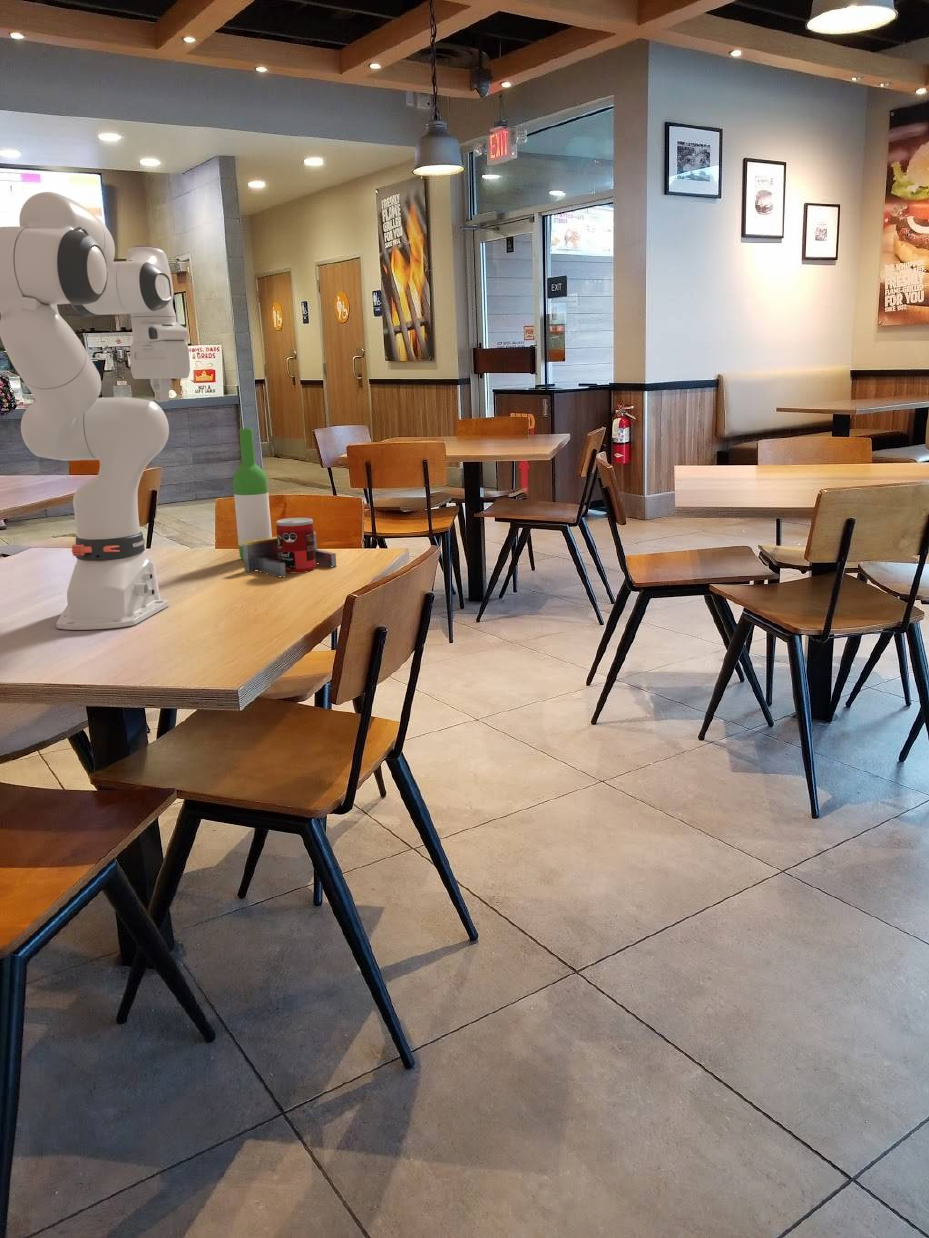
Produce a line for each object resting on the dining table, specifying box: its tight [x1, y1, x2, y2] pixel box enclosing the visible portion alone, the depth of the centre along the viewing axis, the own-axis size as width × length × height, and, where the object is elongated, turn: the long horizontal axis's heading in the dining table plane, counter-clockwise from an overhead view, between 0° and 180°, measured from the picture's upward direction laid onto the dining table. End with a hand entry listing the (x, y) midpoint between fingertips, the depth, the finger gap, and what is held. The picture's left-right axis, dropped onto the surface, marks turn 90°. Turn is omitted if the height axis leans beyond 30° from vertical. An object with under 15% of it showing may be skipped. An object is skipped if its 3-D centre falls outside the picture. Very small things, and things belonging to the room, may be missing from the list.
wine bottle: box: [232, 428, 273, 561], centre depth 220 cm, size 8×8×30 cm
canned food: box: [275, 517, 317, 573], centre depth 210 cm, size 8×8×11 cm
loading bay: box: [242, 531, 337, 578], centre depth 212 cm, size 12×18×6 cm, turn 133°
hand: (162, 401), depth 199 cm, fingers closed
